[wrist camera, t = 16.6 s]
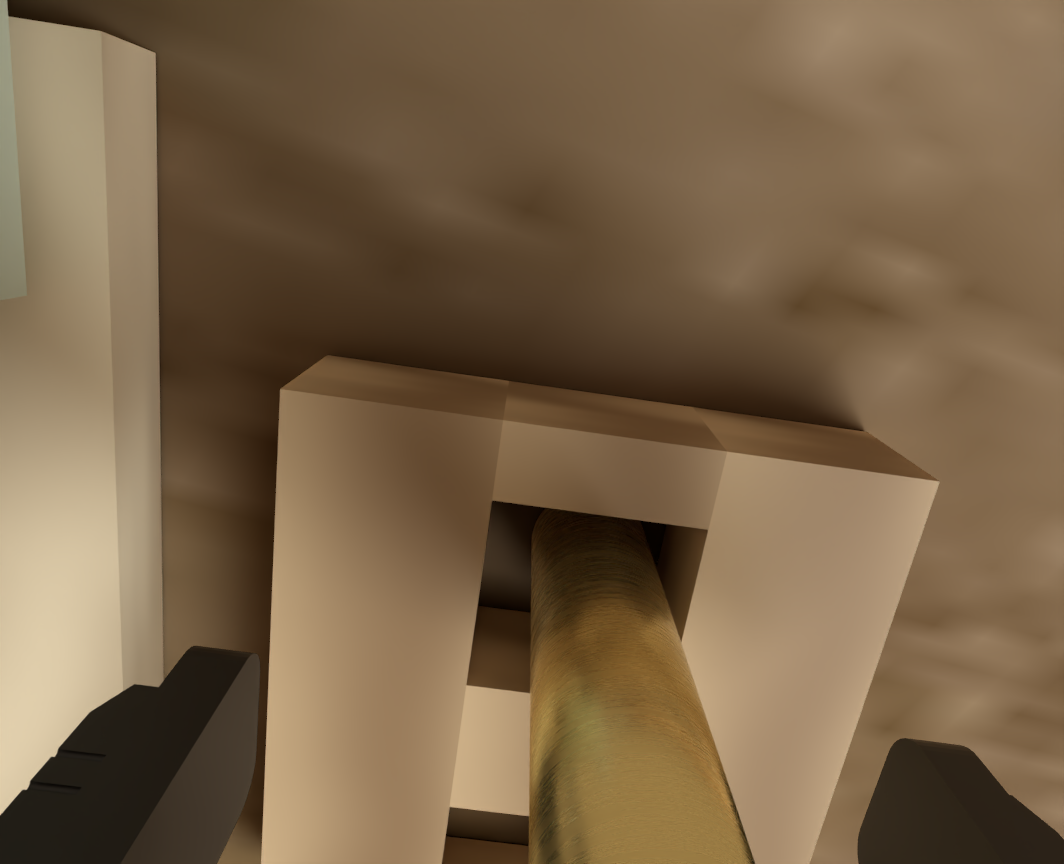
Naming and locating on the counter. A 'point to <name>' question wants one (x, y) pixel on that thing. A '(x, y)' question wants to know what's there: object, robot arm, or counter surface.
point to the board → (79, 394)
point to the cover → (9, 178)
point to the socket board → (505, 635)
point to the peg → (616, 710)
